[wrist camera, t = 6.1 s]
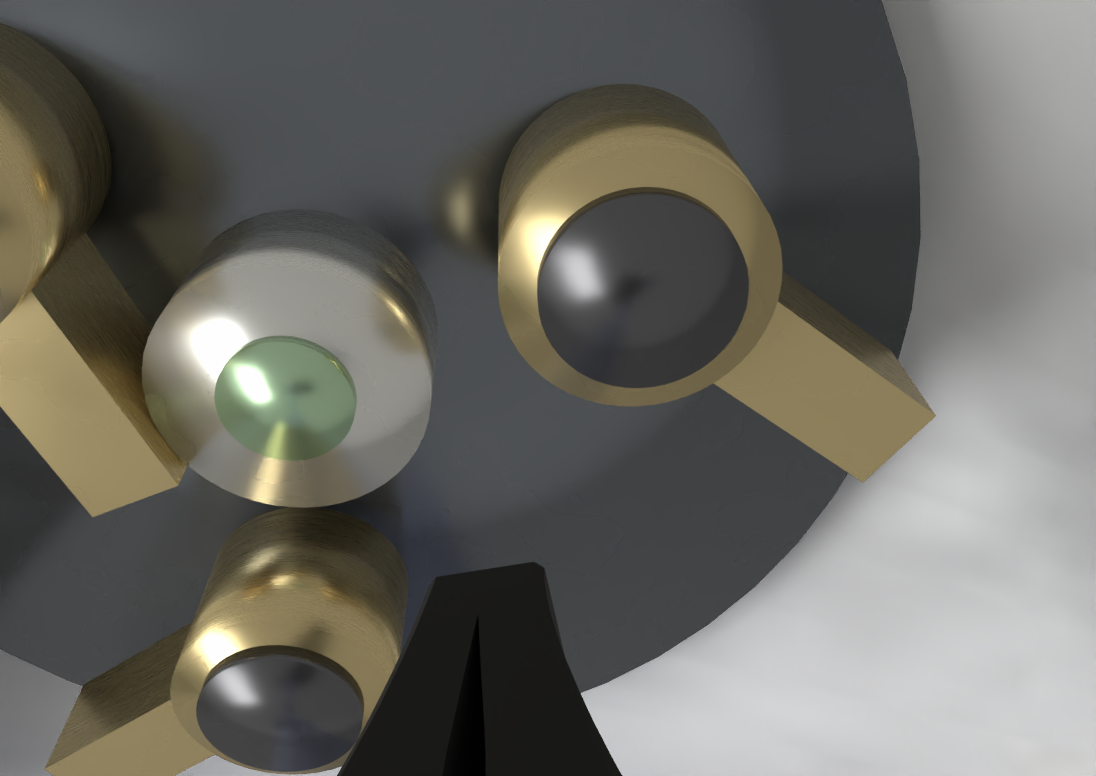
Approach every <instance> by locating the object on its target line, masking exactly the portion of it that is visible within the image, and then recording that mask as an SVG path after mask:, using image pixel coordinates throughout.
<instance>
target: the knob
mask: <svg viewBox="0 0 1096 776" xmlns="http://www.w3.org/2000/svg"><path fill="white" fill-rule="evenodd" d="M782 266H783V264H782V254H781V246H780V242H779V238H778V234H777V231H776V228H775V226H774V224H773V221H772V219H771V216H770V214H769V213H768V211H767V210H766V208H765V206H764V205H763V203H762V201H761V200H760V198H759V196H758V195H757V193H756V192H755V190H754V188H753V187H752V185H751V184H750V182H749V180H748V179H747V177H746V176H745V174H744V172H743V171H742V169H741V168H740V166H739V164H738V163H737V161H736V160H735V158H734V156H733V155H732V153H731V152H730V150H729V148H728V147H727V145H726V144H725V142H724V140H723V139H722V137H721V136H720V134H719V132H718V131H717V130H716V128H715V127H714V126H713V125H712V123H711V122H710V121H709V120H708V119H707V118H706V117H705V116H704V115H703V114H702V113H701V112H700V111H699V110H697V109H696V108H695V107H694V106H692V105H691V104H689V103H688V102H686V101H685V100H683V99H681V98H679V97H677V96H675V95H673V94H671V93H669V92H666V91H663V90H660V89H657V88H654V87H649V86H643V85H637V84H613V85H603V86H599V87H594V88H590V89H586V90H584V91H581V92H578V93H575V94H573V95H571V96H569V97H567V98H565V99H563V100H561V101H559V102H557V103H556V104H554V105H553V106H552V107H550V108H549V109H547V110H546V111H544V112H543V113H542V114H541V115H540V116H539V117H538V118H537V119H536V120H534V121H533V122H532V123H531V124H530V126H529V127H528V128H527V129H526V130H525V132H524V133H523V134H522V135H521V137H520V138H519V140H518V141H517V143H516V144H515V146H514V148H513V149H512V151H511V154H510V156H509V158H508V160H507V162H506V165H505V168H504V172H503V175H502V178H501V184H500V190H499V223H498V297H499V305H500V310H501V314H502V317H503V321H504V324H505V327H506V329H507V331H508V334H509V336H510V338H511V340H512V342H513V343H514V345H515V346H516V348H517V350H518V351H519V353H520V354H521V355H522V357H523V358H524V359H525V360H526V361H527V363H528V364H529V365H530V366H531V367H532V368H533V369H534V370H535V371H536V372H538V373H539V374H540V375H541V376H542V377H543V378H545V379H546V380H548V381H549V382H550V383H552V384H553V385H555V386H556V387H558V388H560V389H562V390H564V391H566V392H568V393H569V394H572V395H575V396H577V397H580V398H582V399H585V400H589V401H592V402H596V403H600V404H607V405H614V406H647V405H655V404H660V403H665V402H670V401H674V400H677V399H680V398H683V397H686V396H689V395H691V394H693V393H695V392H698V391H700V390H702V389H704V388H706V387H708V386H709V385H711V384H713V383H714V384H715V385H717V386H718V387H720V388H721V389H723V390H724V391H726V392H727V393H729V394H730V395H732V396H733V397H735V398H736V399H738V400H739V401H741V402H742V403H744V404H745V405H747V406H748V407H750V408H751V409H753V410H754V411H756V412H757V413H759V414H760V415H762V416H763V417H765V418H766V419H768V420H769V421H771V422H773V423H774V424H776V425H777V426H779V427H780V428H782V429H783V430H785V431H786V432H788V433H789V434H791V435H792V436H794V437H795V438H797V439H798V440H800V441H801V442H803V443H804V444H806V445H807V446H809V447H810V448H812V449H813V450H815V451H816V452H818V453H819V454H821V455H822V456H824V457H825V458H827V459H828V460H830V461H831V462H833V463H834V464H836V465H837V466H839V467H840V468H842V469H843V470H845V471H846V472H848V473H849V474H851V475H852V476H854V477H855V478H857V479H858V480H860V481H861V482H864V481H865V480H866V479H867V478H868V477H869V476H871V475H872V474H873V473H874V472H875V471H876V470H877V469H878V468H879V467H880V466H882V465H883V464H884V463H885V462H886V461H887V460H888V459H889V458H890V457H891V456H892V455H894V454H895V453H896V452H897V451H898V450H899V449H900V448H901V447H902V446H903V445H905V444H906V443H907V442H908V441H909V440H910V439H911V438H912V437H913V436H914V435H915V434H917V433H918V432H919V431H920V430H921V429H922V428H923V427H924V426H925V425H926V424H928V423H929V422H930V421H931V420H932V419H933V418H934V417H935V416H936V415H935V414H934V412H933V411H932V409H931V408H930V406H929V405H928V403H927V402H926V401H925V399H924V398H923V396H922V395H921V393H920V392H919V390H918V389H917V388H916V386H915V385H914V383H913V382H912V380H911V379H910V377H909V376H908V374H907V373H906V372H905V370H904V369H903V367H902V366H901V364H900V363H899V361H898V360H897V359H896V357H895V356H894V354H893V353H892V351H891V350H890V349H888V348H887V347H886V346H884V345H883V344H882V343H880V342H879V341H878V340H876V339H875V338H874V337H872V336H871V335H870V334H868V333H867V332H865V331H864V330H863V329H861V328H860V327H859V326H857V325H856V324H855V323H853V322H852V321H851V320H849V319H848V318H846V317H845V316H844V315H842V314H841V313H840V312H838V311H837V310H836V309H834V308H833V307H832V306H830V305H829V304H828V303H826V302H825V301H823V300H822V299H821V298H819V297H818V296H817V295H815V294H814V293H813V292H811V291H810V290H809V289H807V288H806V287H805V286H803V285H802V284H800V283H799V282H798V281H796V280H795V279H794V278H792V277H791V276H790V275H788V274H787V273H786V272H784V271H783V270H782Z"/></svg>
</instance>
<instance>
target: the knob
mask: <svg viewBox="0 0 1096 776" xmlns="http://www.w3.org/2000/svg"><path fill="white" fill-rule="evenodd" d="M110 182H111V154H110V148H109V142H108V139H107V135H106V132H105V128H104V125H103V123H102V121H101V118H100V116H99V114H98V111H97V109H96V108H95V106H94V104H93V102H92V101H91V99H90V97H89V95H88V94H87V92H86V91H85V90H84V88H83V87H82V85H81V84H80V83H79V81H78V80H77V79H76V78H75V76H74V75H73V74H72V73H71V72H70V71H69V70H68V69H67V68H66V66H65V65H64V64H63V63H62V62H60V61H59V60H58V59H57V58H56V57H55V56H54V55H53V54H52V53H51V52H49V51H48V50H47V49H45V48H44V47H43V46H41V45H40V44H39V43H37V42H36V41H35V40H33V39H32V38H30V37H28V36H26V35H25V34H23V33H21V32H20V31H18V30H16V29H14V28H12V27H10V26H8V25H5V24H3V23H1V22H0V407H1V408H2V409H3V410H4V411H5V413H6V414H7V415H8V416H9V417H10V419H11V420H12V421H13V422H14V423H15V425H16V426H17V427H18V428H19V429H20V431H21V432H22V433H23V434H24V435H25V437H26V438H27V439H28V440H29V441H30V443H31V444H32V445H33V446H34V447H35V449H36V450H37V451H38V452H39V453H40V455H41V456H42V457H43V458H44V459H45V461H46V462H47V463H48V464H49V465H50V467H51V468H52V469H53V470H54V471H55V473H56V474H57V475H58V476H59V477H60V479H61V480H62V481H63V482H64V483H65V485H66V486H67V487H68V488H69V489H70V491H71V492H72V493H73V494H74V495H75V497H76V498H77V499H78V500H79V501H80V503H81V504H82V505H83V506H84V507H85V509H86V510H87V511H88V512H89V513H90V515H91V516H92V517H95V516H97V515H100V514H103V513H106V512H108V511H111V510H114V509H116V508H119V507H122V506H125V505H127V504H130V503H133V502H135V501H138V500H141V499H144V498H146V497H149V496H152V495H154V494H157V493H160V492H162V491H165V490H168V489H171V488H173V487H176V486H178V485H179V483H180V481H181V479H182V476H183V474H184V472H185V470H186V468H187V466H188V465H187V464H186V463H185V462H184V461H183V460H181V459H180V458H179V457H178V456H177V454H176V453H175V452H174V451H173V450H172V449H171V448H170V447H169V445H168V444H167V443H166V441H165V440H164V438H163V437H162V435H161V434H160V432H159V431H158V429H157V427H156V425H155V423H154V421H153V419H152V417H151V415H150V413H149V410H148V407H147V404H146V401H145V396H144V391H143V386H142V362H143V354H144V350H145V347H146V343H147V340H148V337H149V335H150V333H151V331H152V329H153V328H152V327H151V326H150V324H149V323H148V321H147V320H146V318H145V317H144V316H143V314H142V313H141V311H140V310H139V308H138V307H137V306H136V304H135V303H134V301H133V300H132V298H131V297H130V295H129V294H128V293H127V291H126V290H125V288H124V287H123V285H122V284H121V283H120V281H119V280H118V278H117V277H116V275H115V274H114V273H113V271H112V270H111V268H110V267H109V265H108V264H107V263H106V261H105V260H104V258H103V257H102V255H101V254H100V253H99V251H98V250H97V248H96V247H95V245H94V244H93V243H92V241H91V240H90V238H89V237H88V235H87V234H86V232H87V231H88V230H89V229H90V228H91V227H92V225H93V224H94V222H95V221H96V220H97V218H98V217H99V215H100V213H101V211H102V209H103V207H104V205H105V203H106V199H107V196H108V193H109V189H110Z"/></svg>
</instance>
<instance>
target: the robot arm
mask: <svg viewBox="0 0 1096 776" xmlns="http://www.w3.org/2000/svg"><path fill="white" fill-rule="evenodd" d="M337 776H622V775H621V773H620V771H619V769H618V768H617V766H616V764H615V762H614V760H613V758H612V757H611V755H610V753H609V751H608V749H607V747H606V745H605V743H604V741H603V739H602V737H601V735H600V733H599V731H598V729H597V728H596V726H595V724H594V722H593V720H592V717H591V715H590V713H589V711H588V709H587V707H586V705H585V703H584V700H583V698H582V696H581V693H580V691H579V689H578V686H577V684H576V682H575V679H574V677H573V675H572V672H571V670H570V668H569V665H568V663H567V660H566V658H565V655H564V650H563V646H562V641H561V637H560V633H559V628H558V624H557V620H556V615H555V611H554V607H553V602H552V598H551V594H550V589H549V585H548V581H547V576H546V572H545V568H544V567H542V566H541V565H539V564H537V563H536V562H528V563H522V564H515V565H509V566H503V567H496V568H490V569H483V570H477V571H470V572H464V573H458V574H451V575H445V576H438V577H436V578H435V579H434V580H433V581H432V582H431V584H430V585H429V587H428V590H427V592H426V595H425V598H424V600H423V603H422V605H421V608H420V610H419V613H418V615H417V618H416V620H415V622H414V625H413V627H412V630H411V632H410V634H409V636H408V639H407V641H406V643H405V645H404V648H403V650H402V652H401V654H400V656H399V659H398V661H397V663H396V665H395V667H394V669H393V671H392V673H391V675H390V677H389V680H388V682H387V684H386V686H385V688H384V690H383V692H382V694H381V696H380V698H379V700H378V702H377V704H376V706H375V708H374V710H373V712H372V714H371V716H370V718H369V720H368V721H367V723H366V725H365V727H364V729H363V731H362V733H361V734H360V736H359V738H358V740H357V741H356V743H355V745H354V747H353V749H352V750H351V752H350V754H349V756H348V757H347V759H346V761H345V763H344V764H343V766H342V768H341V770H340V771H339V773H338V775H337Z"/></svg>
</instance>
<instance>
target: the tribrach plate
mask: <svg viewBox="0 0 1096 776" xmlns="http://www.w3.org/2000/svg"><path fill="white" fill-rule="evenodd" d="M0 22H1V23H3V24H5V25H8V26H10V27H12V28H14V29H16V30H18V31H20V32H21V33H23V34H25V35H26V36H28V37H30V38H32V39H33V40H35V41H36V42H37V43H39V44H40V45H41V46H43V47H44V48H45V49H47V50H48V51H49V52H51V53H52V54H53V55H54V56H55V57H56V58H57V59H58V60H59V61H60V62H62V63H63V64H64V65H65V66H66V68H67V69H68V70H69V71H70V72H71V73H72V74H73V75H74V76H75V78H76V79H77V80H78V81H79V83H80V84H81V85H82V87H83V88H84V90H85V91H86V92H87V94H88V95H89V97H90V99H91V101H92V102H93V104H94V106H95V108H96V109H97V111H98V114H99V116H100V118H101V121H102V123H103V125H104V128H105V132H106V135H107V139H108V142H109V148H110V154H111V182H110V189H109V193H108V196H107V199H106V203H105V205H104V207H103V209H102V211H101V213H100V215H99V217H98V218H97V220H96V221H95V222H94V224H93V225H92V227H91V228H90V229H89V230H88V231H87V232H86V234H87V235H88V237H89V238H90V240H91V241H92V243H93V244H94V245H95V247H96V248H97V250H98V251H99V253H100V254H101V255H102V257H103V258H104V260H105V261H106V263H107V264H108V265H109V267H110V268H111V270H112V271H113V273H114V274H115V275H116V277H117V278H118V280H119V281H120V283H121V284H122V285H123V287H124V288H125V290H126V291H127V293H128V294H129V295H130V297H131V298H132V300H133V301H134V303H135V304H136V306H137V307H138V308H139V310H140V311H141V313H142V314H143V316H144V317H145V318H146V320H147V321H148V323H149V324H150V326H151V327H152V328H153V329H152V331H151V333H150V335H149V337H148V340H147V343H146V347H145V350H144V354H143V362H142V386H143V391H144V396H145V401H146V404H147V407H148V410H149V413H150V415H151V417H152V419H153V421H154V423H155V425H156V427H157V429H158V431H159V432H160V434H161V435H162V437H163V438H164V440H165V441H166V443H167V444H168V445H169V447H170V448H171V449H172V450H173V451H174V452H175V453H176V454H177V456H178V457H179V458H180V459H181V460H183V461H184V462H185V463H186V464H187V465H188V466H187V468H186V470H185V472H184V474H183V476H182V479H181V481H180V483H179V485H178V486H176V487H173V488H171V489H168V490H165V491H162V492H160V493H157V494H154V495H152V496H149V497H146V498H144V499H141V500H138V501H135V502H133V503H130V504H127V505H125V506H122V507H119V508H116V509H114V510H111V511H108V512H106V513H103V514H100V515H97V516H95V517H92V516H91V515H90V513H89V512H88V511H87V510H86V509H85V507H84V506H83V505H82V504H81V503H80V501H79V500H78V499H77V498H76V497H75V495H74V494H73V493H72V492H71V491H70V489H69V488H68V487H67V486H66V485H65V483H64V482H63V481H62V480H61V479H60V477H59V476H58V475H57V474H56V473H55V471H54V470H53V469H52V468H51V467H50V465H49V464H48V463H47V462H46V461H45V459H44V458H43V457H42V456H41V455H40V453H39V452H38V451H37V450H36V449H35V447H34V446H33V445H32V444H31V443H30V441H29V440H28V439H27V438H26V437H25V435H24V434H23V433H22V432H21V431H20V429H19V428H18V427H17V426H16V425H15V423H14V422H13V421H12V420H11V419H10V417H9V416H8V415H7V414H6V413H5V411H4V410H3V409H2V408H1V407H0V649H2V650H3V651H5V652H7V653H9V654H11V655H14V656H16V657H18V658H20V659H22V660H24V661H27V662H29V663H31V664H33V665H35V666H38V667H40V668H42V669H44V670H46V671H48V672H51V673H53V674H55V675H57V676H59V677H62V678H64V679H66V680H68V681H71V682H74V683H76V684H79V685H82V686H84V684H85V683H87V682H88V681H90V680H92V679H94V678H95V677H97V676H99V675H101V674H102V673H104V672H106V671H108V670H109V669H111V668H113V667H115V666H116V665H118V664H120V663H122V662H123V661H125V660H127V659H128V658H130V657H132V656H134V655H135V654H137V653H139V652H141V651H142V650H144V649H146V648H148V647H149V646H151V645H153V644H155V643H156V642H158V641H160V640H162V639H163V638H165V637H167V636H169V635H170V634H172V633H174V632H175V631H177V630H179V629H181V628H182V627H184V626H186V625H188V624H189V623H191V622H193V619H194V617H195V614H196V611H197V608H198V606H199V603H200V600H201V598H202V595H203V592H204V590H205V587H206V584H207V582H208V579H209V576H210V574H211V571H212V568H213V565H214V563H215V560H216V557H217V555H218V552H219V550H220V548H221V546H222V544H223V543H224V541H225V540H226V539H227V537H228V536H229V535H230V534H231V533H232V532H233V531H234V530H235V529H236V528H237V527H239V526H240V525H242V524H243V523H244V522H246V521H247V520H249V519H251V518H253V517H255V516H257V515H260V514H263V513H265V512H268V511H272V510H276V509H281V508H288V507H307V508H309V507H319V508H325V509H331V510H335V511H339V512H342V513H346V514H348V515H351V516H353V517H356V518H358V519H360V520H362V521H364V522H366V523H367V524H369V525H371V526H372V527H374V528H375V529H376V530H378V531H379V532H381V533H382V534H383V535H384V536H385V537H386V538H387V539H388V540H389V541H390V542H391V543H392V544H393V545H394V547H395V548H396V549H397V551H398V552H399V554H400V556H401V557H402V560H403V562H404V564H405V566H406V570H407V574H408V582H409V587H408V598H407V606H406V615H405V623H404V632H403V640H402V649H401V652H402V650H403V648H404V645H405V643H406V641H407V639H408V636H409V634H410V632H411V630H412V627H413V625H414V622H415V620H416V618H417V615H418V613H419V610H420V608H421V605H422V603H423V600H424V598H425V595H426V592H427V590H428V587H429V585H430V584H431V582H432V581H433V580H434V579H435V578H436V577H438V576H445V575H451V574H458V573H464V572H470V571H477V570H483V569H490V568H496V567H503V566H509V565H515V564H522V563H528V562H536V563H537V564H539V565H541V566H542V567H544V568H545V572H546V576H547V581H548V585H549V589H550V594H551V598H552V602H553V607H554V611H555V615H556V620H557V624H558V628H559V633H560V637H561V641H562V646H563V650H564V655H565V658H566V660H567V663H568V665H569V668H570V670H571V672H572V675H573V677H574V679H575V682H576V684H577V686H578V689H579V691H580V693H581V692H584V691H586V690H589V689H592V688H594V687H597V686H599V685H602V684H605V683H607V682H609V681H611V680H613V679H615V678H617V677H619V676H621V675H623V674H625V673H627V672H629V671H631V670H633V669H635V668H637V667H639V666H641V665H643V664H645V663H647V662H649V661H651V660H653V659H655V658H657V657H659V656H660V655H662V654H663V653H665V652H666V651H668V650H669V649H671V648H673V647H674V646H676V645H677V644H679V643H680V642H682V641H683V640H685V639H687V638H688V637H690V636H691V635H693V634H694V633H696V632H697V631H699V630H701V629H702V628H704V627H705V626H707V625H708V624H710V623H711V622H712V621H713V620H715V619H716V618H717V617H718V616H719V615H721V614H722V613H723V612H724V611H726V610H727V609H728V608H729V607H731V606H732V605H733V604H734V603H735V602H737V601H738V600H739V599H740V598H742V597H743V596H744V595H745V594H747V593H748V592H749V591H750V590H752V589H753V588H754V587H755V586H756V585H757V584H758V583H759V582H760V581H761V580H762V579H763V578H764V577H765V576H766V575H767V574H768V573H769V572H770V571H771V570H772V569H773V568H774V567H775V566H776V565H777V564H778V563H779V562H780V561H781V560H782V559H783V558H784V556H785V555H786V554H787V553H788V552H789V551H790V550H791V549H792V548H793V547H794V546H795V545H796V544H797V543H798V542H799V541H800V539H801V538H802V537H803V535H804V534H805V533H806V531H807V530H808V529H809V528H810V526H811V525H812V524H813V522H814V521H815V520H816V518H817V517H818V516H819V514H820V513H821V512H822V511H823V509H824V508H825V507H826V505H827V504H828V503H829V501H830V500H831V499H832V497H833V496H834V495H835V493H836V492H837V490H838V488H839V487H840V485H841V483H842V481H843V480H844V478H845V476H846V475H847V473H848V472H846V471H845V470H843V469H842V468H840V467H839V466H837V465H836V464H834V463H833V462H831V461H830V460H828V459H827V458H825V457H824V456H822V455H821V454H819V453H818V452H816V451H815V450H813V449H812V448H810V447H809V446H807V445H806V444H804V443H803V442H801V441H800V440H798V439H797V438H795V437H794V436H792V435H791V434H789V433H788V432H786V431H785V430H783V429H782V428H780V427H779V426H777V425H776V424H774V423H773V422H771V421H769V420H768V419H766V418H765V417H763V416H762V415H760V414H759V413H757V412H756V411H754V410H753V409H751V408H750V407H748V406H747V405H745V404H744V403H742V402H741V401H739V400H738V399H736V398H735V397H733V396H732V395H730V394H729V393H727V392H726V391H724V390H723V389H721V388H720V387H718V386H717V385H715V384H714V383H713V384H711V385H709V386H708V387H706V388H704V389H702V390H700V391H698V392H695V393H693V394H691V395H689V396H686V397H683V398H680V399H677V400H674V401H670V402H665V403H660V404H655V405H647V406H614V405H607V404H600V403H596V402H592V401H589V400H585V399H582V398H580V397H577V396H575V395H572V394H569V393H568V392H566V391H564V390H562V389H560V388H558V387H556V386H555V385H553V384H552V383H550V382H549V381H548V380H546V379H545V378H543V377H542V376H541V375H540V374H539V373H538V372H536V371H535V370H534V369H533V368H532V367H531V366H530V365H529V364H528V363H527V361H526V360H525V359H524V358H523V357H522V355H521V354H520V353H519V351H518V350H517V348H516V346H515V345H514V343H513V342H512V340H511V338H510V336H509V334H508V331H507V329H506V327H505V324H504V321H503V317H502V314H501V310H500V305H499V297H498V223H499V190H500V184H501V178H502V175H503V172H504V168H505V165H506V162H507V160H508V158H509V156H510V154H511V151H512V149H513V148H514V146H515V144H516V143H517V141H518V140H519V138H520V137H521V135H522V134H523V133H524V132H525V130H526V129H527V128H528V127H529V126H530V124H531V123H532V122H533V121H534V120H536V119H537V118H538V117H539V116H540V115H541V114H542V113H543V112H544V111H546V110H547V109H549V108H550V107H552V106H553V105H554V104H556V103H557V102H559V101H561V100H563V99H565V98H567V97H569V96H571V95H573V94H575V93H578V92H581V91H584V90H586V89H590V88H594V87H599V86H603V85H613V84H637V85H643V86H649V87H654V88H657V89H660V90H663V91H666V92H669V93H671V94H673V95H675V96H677V97H679V98H681V99H683V100H685V101H686V102H688V103H689V104H691V105H692V106H694V107H695V108H696V109H697V110H699V111H700V112H701V113H702V114H703V115H704V116H705V117H706V118H707V119H708V120H709V121H710V122H711V123H712V125H713V126H714V127H715V128H716V130H717V131H718V132H719V134H720V136H721V137H722V139H723V140H724V142H725V144H726V145H727V147H728V148H729V150H730V152H731V153H732V155H733V156H734V158H735V160H736V161H737V163H738V164H739V166H740V168H741V169H742V171H743V172H744V174H745V176H746V177H747V179H748V180H749V182H750V184H751V185H752V187H753V188H754V190H755V192H756V193H757V195H758V196H759V198H760V200H761V201H762V203H763V205H764V206H765V208H766V210H767V211H768V213H769V214H770V216H771V219H772V221H773V224H774V226H775V228H776V231H777V234H778V238H779V242H780V246H781V254H782V264H783V266H782V270H783V271H784V272H786V273H787V274H788V275H790V276H791V277H792V278H794V279H795V280H796V281H798V282H799V283H800V284H802V285H803V286H805V287H806V288H807V289H809V290H810V291H811V292H813V293H814V294H815V295H817V296H818V297H819V298H821V299H822V300H823V301H825V302H826V303H828V304H829V305H830V306H832V307H833V308H834V309H836V310H837V311H838V312H840V313H841V314H842V315H844V316H845V317H846V318H848V319H849V320H851V321H852V322H853V323H855V324H856V325H857V326H859V327H860V328H861V329H863V330H864V331H865V332H867V333H868V334H870V335H871V336H872V337H874V338H875V339H876V340H878V341H879V342H880V343H882V344H883V345H884V346H886V347H887V348H888V349H890V350H891V351H892V353H893V354H894V356H895V357H896V359H897V360H898V358H899V354H900V351H901V347H902V343H903V339H904V336H905V332H906V328H907V324H908V321H909V317H910V313H911V309H912V301H913V293H914V285H915V277H916V269H917V261H918V253H919V245H920V183H919V156H918V150H917V144H916V138H915V132H914V125H913V119H912V113H911V107H910V101H909V94H908V88H907V82H906V77H905V74H904V71H903V68H902V65H901V61H900V58H899V55H898V52H897V49H896V45H895V42H894V39H893V36H892V33H891V30H890V26H889V23H888V20H887V17H886V14H885V10H884V7H883V4H882V1H881V0H0Z"/></svg>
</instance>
